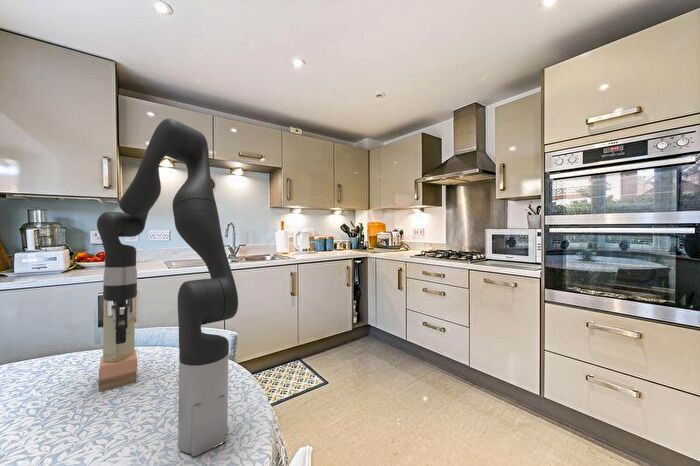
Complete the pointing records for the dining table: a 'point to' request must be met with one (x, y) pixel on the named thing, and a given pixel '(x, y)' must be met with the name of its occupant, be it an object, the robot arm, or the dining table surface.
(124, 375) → the walnut slab
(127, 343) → the skincare box
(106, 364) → the terracotta slab
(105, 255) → the robot arm
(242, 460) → the dining table surface
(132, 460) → the dining table surface
